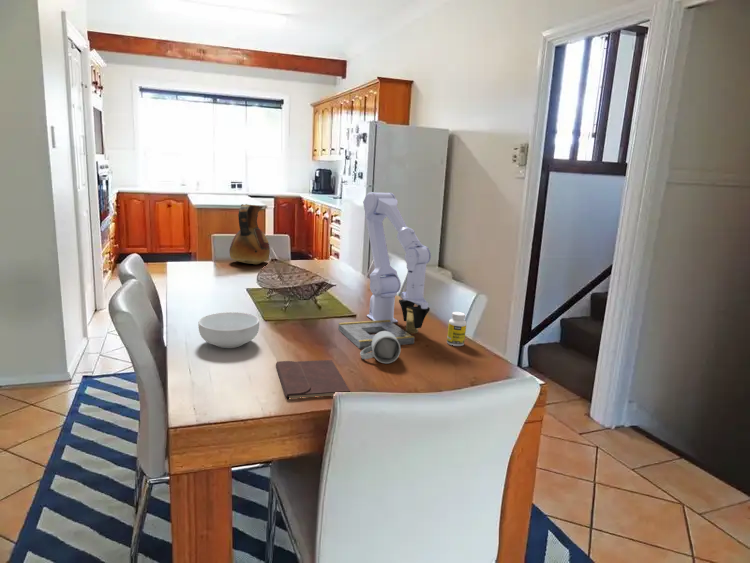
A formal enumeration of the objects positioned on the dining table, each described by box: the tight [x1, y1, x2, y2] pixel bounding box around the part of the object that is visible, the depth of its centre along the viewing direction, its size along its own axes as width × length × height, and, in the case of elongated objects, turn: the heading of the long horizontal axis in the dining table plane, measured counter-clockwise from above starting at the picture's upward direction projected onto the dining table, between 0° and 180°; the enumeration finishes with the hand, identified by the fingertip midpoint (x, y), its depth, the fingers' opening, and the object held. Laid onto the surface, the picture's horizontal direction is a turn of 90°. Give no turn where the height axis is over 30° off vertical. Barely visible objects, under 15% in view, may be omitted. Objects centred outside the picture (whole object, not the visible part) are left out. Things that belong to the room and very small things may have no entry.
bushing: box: [405, 305, 419, 335], centre depth 170 cm, size 5×5×8 cm
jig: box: [338, 320, 415, 350], centre depth 164 cm, size 18×18×2 cm
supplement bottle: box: [446, 311, 467, 347], centre depth 161 cm, size 5×5×10 cm
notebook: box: [275, 359, 351, 399], centre depth 128 cm, size 15×20×2 cm
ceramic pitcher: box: [229, 203, 271, 265], centre depth 262 cm, size 20×20×30 cm
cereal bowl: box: [198, 311, 260, 349], centre depth 149 cm, size 17×17×7 cm
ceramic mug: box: [359, 331, 401, 365], centre depth 145 cm, size 11×8×8 cm
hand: (412, 324), depth 171 cm, fingers open, 7 cm apart
